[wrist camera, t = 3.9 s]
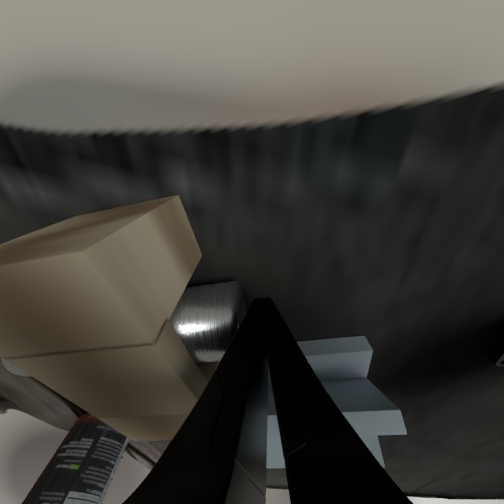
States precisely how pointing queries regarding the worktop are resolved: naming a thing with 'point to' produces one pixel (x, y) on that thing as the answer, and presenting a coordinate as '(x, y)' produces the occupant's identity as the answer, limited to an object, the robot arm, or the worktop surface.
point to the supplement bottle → (80, 465)
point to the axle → (200, 321)
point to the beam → (106, 314)
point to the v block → (343, 394)
